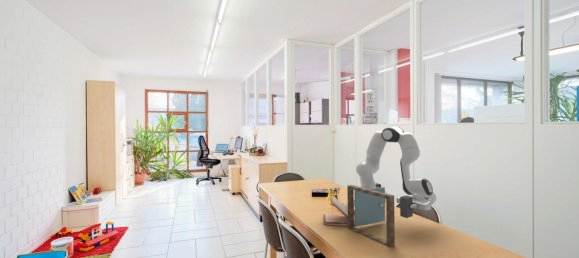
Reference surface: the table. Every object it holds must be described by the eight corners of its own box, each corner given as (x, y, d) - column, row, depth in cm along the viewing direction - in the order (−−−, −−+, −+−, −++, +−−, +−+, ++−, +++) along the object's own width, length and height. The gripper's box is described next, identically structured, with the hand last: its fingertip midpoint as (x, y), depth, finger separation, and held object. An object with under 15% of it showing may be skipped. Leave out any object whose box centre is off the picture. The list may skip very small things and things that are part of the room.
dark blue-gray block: (400, 216, 164) (400, 196, 164) (406, 214, 167) (405, 195, 167) (406, 218, 160) (406, 198, 160) (412, 216, 163) (412, 196, 163)
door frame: (347, 228, 171) (347, 185, 171) (351, 227, 173) (350, 184, 172) (391, 247, 144) (390, 196, 143) (394, 245, 145) (394, 195, 145)
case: (355, 227, 174) (355, 202, 174) (323, 225, 177) (323, 201, 177) (352, 216, 194) (352, 194, 194) (323, 215, 197) (323, 194, 197)
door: (357, 227, 168) (357, 191, 167) (354, 226, 171) (354, 190, 170) (387, 221, 177) (386, 187, 177) (383, 220, 180) (383, 186, 180)
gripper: (403, 193, 179) (390, 196, 172) (433, 200, 162) (421, 204, 155) (403, 202, 179) (390, 206, 172) (433, 210, 162) (421, 214, 155)
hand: (405, 205), depth 163 cm, fingers closed on dark blue-gray block, 4 cm apart
